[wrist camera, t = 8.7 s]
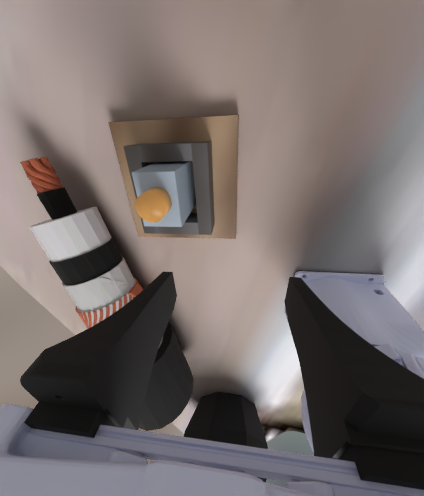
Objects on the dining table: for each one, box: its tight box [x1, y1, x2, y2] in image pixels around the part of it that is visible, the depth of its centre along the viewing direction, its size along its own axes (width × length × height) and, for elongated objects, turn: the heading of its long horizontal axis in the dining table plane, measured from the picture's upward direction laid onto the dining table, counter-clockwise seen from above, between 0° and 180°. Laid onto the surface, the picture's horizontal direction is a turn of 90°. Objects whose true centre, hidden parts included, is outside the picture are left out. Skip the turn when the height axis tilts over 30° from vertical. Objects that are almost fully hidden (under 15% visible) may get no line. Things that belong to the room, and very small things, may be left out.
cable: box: [20, 158, 193, 431], centre depth 25 cm, size 10×34×10 cm, turn 16°
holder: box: [109, 115, 239, 239], centre depth 19 cm, size 11×11×4 cm
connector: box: [132, 161, 196, 227], centre depth 16 cm, size 3×4×7 cm
